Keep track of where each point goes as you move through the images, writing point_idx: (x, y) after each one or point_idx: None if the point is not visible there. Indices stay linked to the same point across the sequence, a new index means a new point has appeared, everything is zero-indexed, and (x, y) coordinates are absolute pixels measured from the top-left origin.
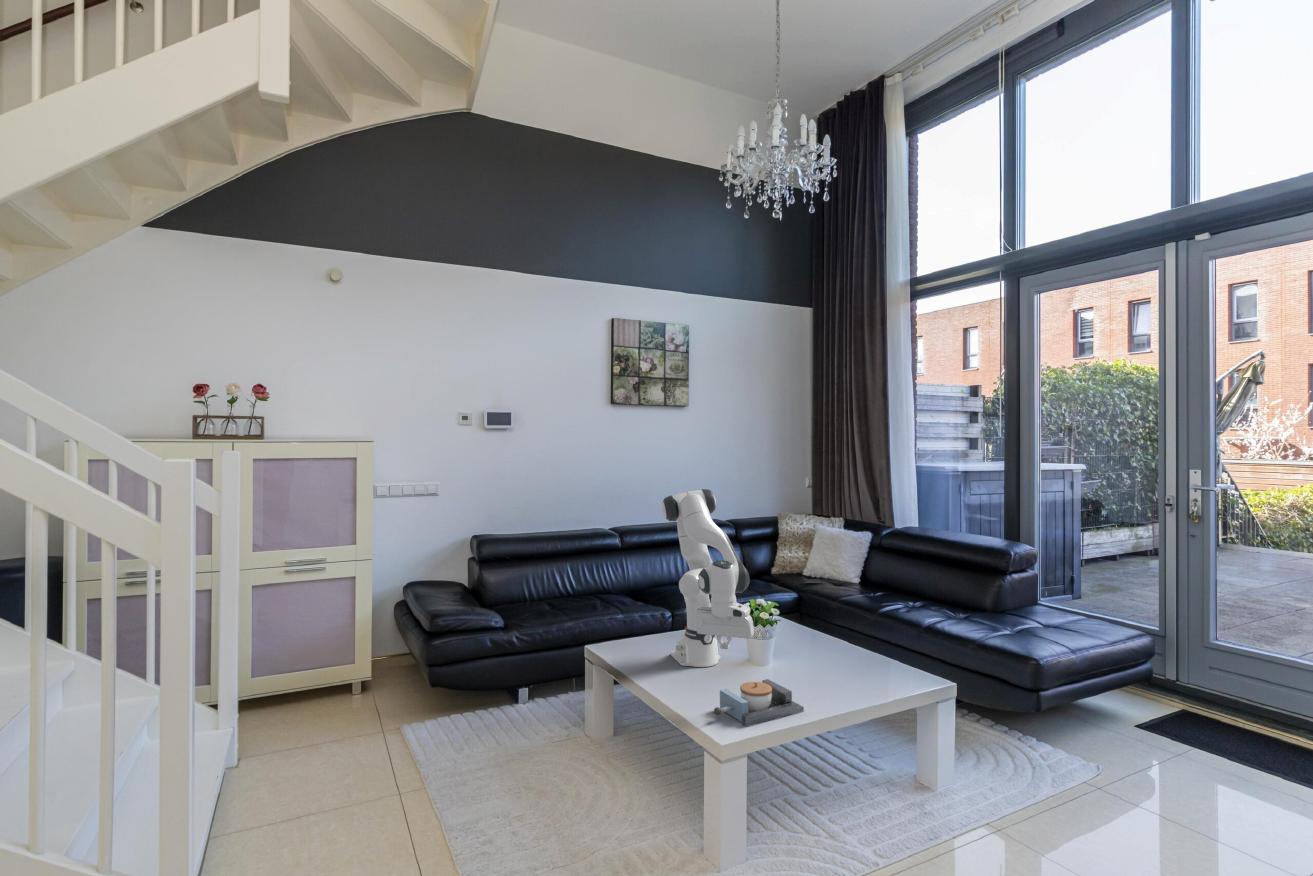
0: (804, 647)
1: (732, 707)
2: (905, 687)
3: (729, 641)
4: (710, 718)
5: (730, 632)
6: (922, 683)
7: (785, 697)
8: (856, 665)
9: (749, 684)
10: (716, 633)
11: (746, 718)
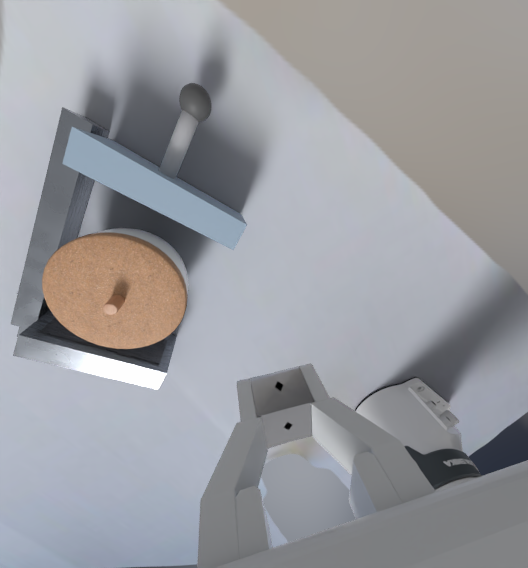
0: None
1: (161, 166)
2: None
3: (222, 468)
4: (232, 124)
5: None
6: None
7: (34, 324)
8: (117, 536)
9: (155, 306)
10: (488, 546)
11: (64, 113)
